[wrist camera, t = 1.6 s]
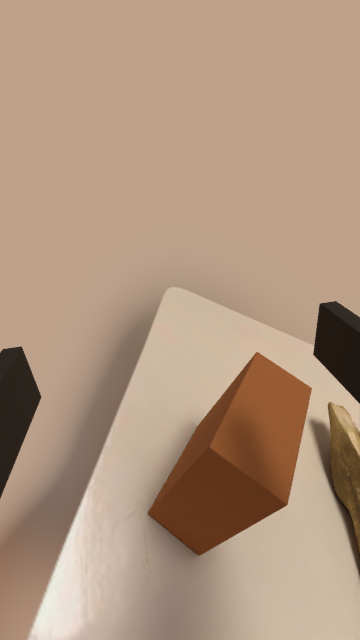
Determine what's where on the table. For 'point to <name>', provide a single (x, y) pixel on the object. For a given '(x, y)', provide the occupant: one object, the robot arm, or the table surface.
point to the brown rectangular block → (237, 459)
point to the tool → (345, 461)
